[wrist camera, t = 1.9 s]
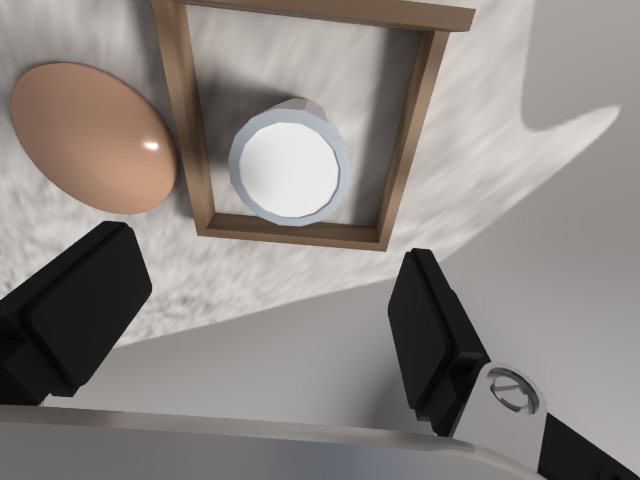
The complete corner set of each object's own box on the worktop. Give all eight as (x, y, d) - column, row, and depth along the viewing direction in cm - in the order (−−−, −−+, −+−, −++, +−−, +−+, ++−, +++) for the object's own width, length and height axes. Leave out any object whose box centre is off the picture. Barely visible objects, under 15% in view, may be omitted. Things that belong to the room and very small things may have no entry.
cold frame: (168, -16, 16) (115, -34, 12) (439, 16, 17) (476, 8, 13) (207, 219, 25) (185, 254, 21) (381, 235, 26) (391, 271, 22)
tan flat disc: (-11, 53, 18) (-27, 54, 17) (160, 71, 19) (153, 73, 18) (63, 202, 25) (54, 208, 24) (190, 213, 25) (185, 219, 24)
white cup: (266, 186, 23) (247, 233, 18) (242, 95, 20) (208, 119, 14) (348, 176, 23) (356, 221, 17) (341, 80, 19) (347, 98, 13)
